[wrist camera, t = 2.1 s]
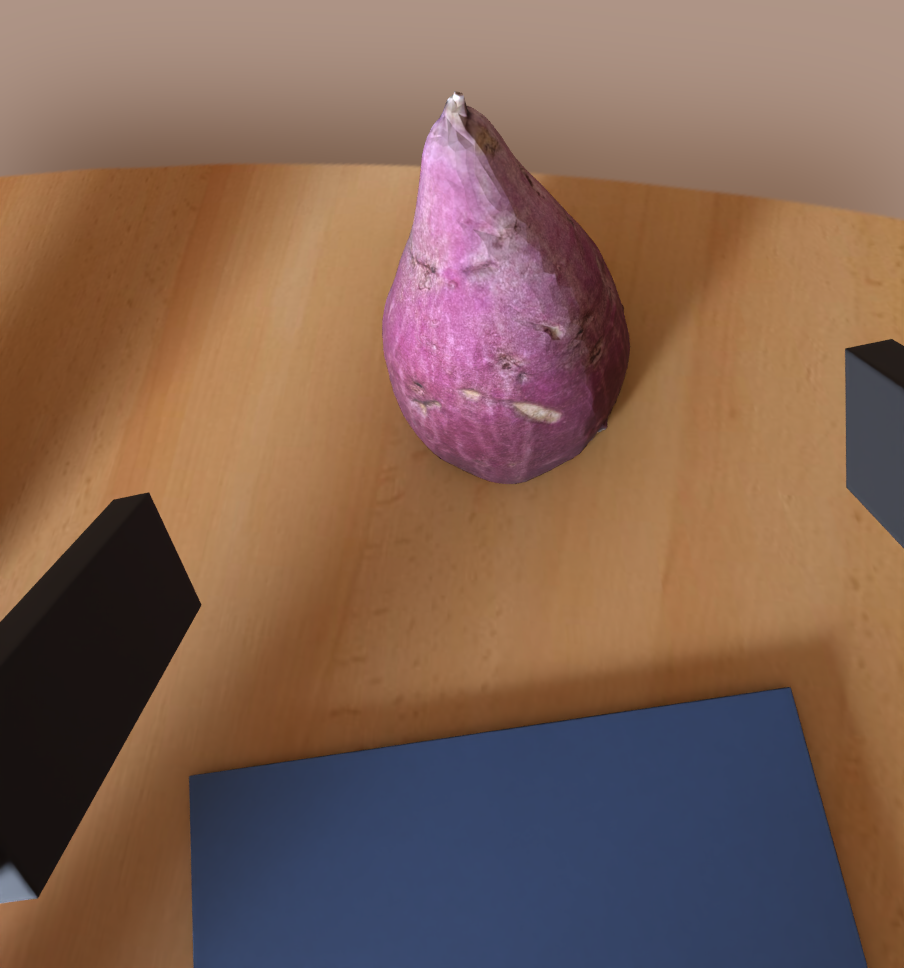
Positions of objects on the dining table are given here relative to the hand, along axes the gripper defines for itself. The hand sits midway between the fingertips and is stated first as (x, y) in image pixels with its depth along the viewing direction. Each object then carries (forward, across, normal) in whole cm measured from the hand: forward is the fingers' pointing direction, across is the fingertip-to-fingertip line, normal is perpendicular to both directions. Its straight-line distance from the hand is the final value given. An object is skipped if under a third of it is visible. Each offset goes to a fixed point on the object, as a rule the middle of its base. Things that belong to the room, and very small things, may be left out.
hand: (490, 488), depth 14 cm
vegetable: (+20, 0, -5) cm, 21 cm away
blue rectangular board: (+3, -4, -22) cm, 22 cm away
